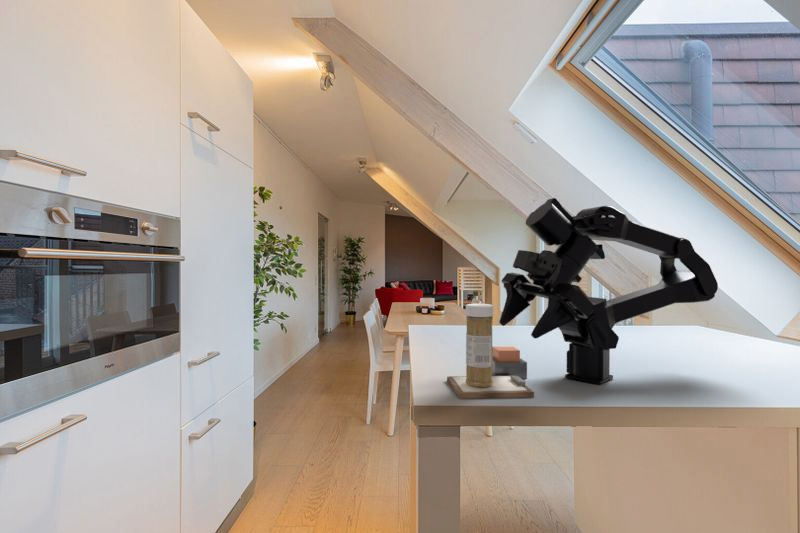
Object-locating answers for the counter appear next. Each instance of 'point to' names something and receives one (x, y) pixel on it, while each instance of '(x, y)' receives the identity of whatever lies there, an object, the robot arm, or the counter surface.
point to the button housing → (510, 369)
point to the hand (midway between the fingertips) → (516, 330)
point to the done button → (506, 354)
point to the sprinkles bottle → (479, 345)
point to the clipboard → (491, 388)
